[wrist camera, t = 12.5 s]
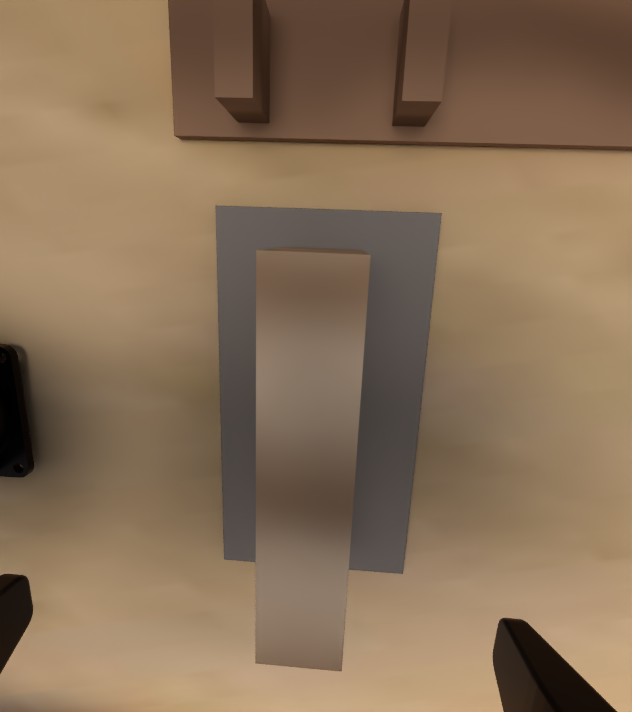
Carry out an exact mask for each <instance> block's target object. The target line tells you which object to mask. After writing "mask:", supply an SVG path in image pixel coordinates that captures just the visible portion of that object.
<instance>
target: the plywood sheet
mask: <svg viewBox="0 0 632 712" xmlns="http://www.w3.org/2000/svg"><path fill="white" fill-rule="evenodd" d="M370 257H371V255H370V254H368V253H367V252H365V251H363V250H357V249H332V248H308V247H281V248H272V249H263V250H256V663H258V664H269V665H279V666H289V667H300V668H310V669H321V670H331V671H342V658H343V644H344V630H345V615H346V601H347V587H348V572H349V558H350V544H351V529H352V515H353V501H354V486H355V472H356V458H357V443H358V429H359V415H360V400H361V386H362V372H363V357H364V343H365V329H366V314H367V300H368V286H369V271H370Z"/></svg>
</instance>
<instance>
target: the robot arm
mask: <svg viewBox="0 0 632 712" xmlns="http://www.w3.org/2000/svg"><path fill="white" fill-rule="evenodd" d="M2 353H3V354H4V355H5V357H6V360H5V359H4V358H3V357H2ZM20 464H21V465H22V466H23V468H22V467H21V466H20ZM33 469H34V460H33V453H32V447H31V440H30V434H29V427H28V420H27V414H26V407H25V401H24V394H23V387H22V381H21V374H20V367H19V361H18V355H17V352H16V351H15V349H14V348H13V347H11V346H9V345H5V344H0V476H5V477H19V478H20V477H25V476H26V475H28V474H29V473H30V472H32V471H33ZM32 614H33V604H32V598H31V592H30V585H29V580H28V578H27V577H26V576H24V575H16V574H3V575H1V576H0V674H1V672H2V670H3V668H4V667H5V665H6V663H7V661H8V660H9V658H10V656H11V654H12V653H13V651H14V649H15V648H16V646H17V644H18V642H19V641H20V639H21V637H22V635H23V634H24V632H25V630H26V628H27V627H28V625H29V623H30V621H31V618H32ZM493 666H494V671H495V675H496V680H497V684H498V688H499V693H500V697H501V702H502V706H503V711H504V712H617V711H616V710H615V709H614V708H613V707H612V706H611V705H610V704H609V703H608V702H607V701H606V700H605V699H604V698H603V697H602V696H601V695H600V694H599V693H598V692H597V691H596V690H595V689H594V688H593V687H592V686H591V685H590V684H589V683H588V682H587V681H586V680H585V679H584V678H583V677H582V676H581V675H580V674H579V673H577V672H576V671H575V670H574V669H573V668H572V667H571V666H570V665H569V664H568V663H567V662H566V661H565V660H564V659H563V658H562V657H561V656H560V655H559V654H558V653H557V652H556V651H555V650H554V649H553V648H552V647H551V646H550V645H549V644H548V643H547V642H546V641H545V640H544V639H543V638H542V637H541V636H540V635H539V634H538V633H537V632H536V631H535V630H534V629H533V628H532V627H531V626H530V625H529V624H528V623H527V622H525V621H524V620H521V619H512V618H502V619H500V621H499V623H498V628H497V633H496V638H495V643H494V649H493Z"/></svg>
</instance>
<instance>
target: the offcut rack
mask: <svg viewBox="0 0 632 712" xmlns="http://www.w3.org/2000/svg"><path fill="white" fill-rule="evenodd" d="M168 8H169V29H170V51H171V73H172V95H173V117H174V136H176V137H178V138H179V139H198V140H239V141H279V142H320V143H361V144H401V145H442V146H482V147H523V148H563V149H604V150H632V0H168Z"/></svg>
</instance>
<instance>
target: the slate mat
mask: <svg viewBox="0 0 632 712" xmlns="http://www.w3.org/2000/svg"><path fill="white" fill-rule="evenodd" d="M441 214H442V213H422V212H392V211H362V210H332V209H303V208H273V207H243V206H216V238H217V280H218V322H219V364H220V406H221V449H222V491H223V533H224V559H225V560H238V561H250V562H256V250H263V249H272V248H281V247H308V248H332V249H357V250H363V251H365V252H367V253H368V254H370V255H371V257H370V271H369V286H368V300H367V314H366V329H365V343H364V357H363V372H362V386H361V400H360V415H359V429H358V443H357V458H356V472H355V486H354V501H353V515H352V529H351V544H350V558H349V569H350V570H362V571H374V572H387V573H399V574H403V569H404V560H405V550H406V541H407V532H408V522H409V513H410V504H411V494H412V485H413V476H414V466H415V457H416V448H417V438H418V429H419V420H420V410H421V401H422V392H423V382H424V373H425V364H426V354H427V345H428V336H429V326H430V317H431V308H432V298H433V289H434V280H435V270H436V261H437V252H438V242H439V233H440V224H441Z"/></svg>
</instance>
